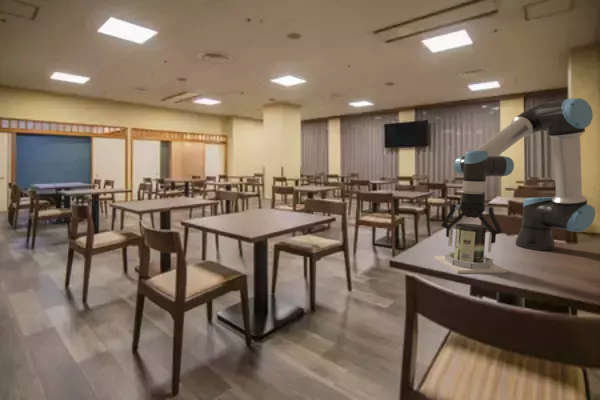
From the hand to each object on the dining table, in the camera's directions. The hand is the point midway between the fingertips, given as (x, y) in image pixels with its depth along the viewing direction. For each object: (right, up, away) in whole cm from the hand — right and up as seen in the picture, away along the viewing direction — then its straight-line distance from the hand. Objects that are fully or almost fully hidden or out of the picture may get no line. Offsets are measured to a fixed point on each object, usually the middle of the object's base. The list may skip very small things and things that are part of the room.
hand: (469, 248), depth 130 cm
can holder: (0, -6, +1) cm, 6 cm away
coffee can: (0, -6, +1) cm, 6 cm away
